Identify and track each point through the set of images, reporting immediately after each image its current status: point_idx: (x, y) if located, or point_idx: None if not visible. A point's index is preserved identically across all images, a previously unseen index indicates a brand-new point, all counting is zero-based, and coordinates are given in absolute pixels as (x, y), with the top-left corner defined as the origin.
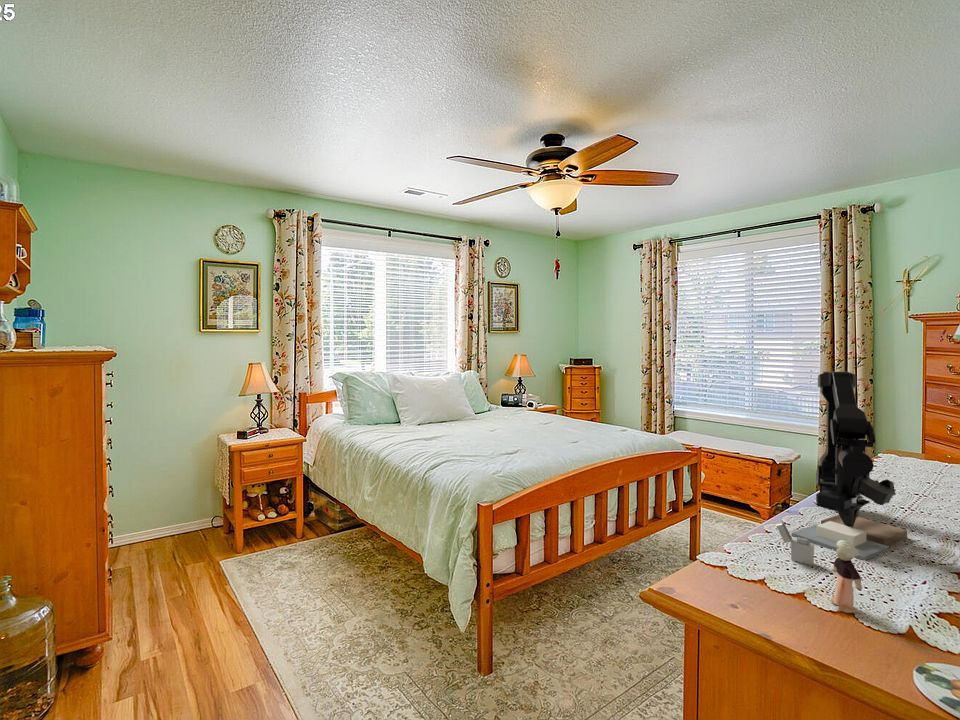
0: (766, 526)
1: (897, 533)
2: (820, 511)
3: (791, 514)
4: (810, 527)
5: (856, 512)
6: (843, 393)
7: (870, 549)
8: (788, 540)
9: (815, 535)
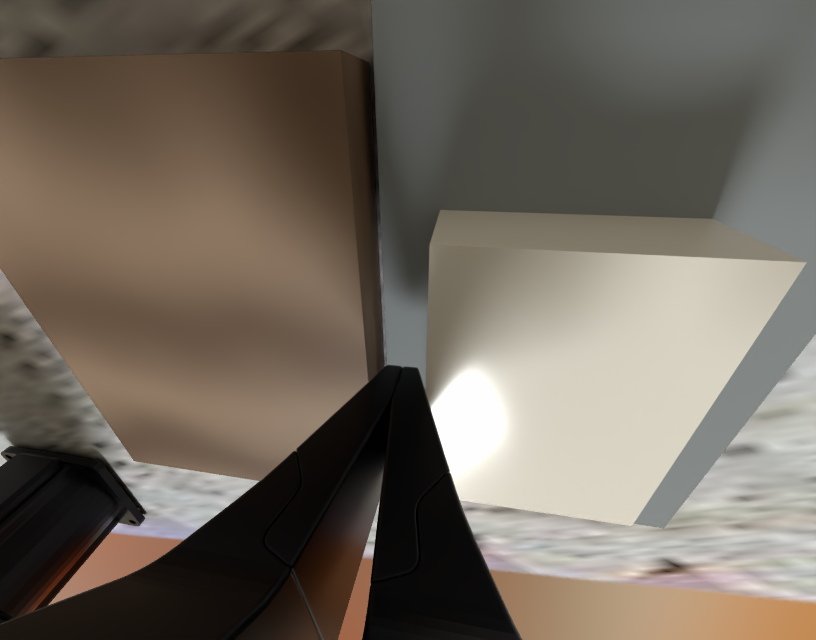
0: (588, 576)
1: (30, 70)
2: (185, 497)
3: None
4: None
5: (314, 510)
6: None
7: (661, 73)
8: None
9: None
